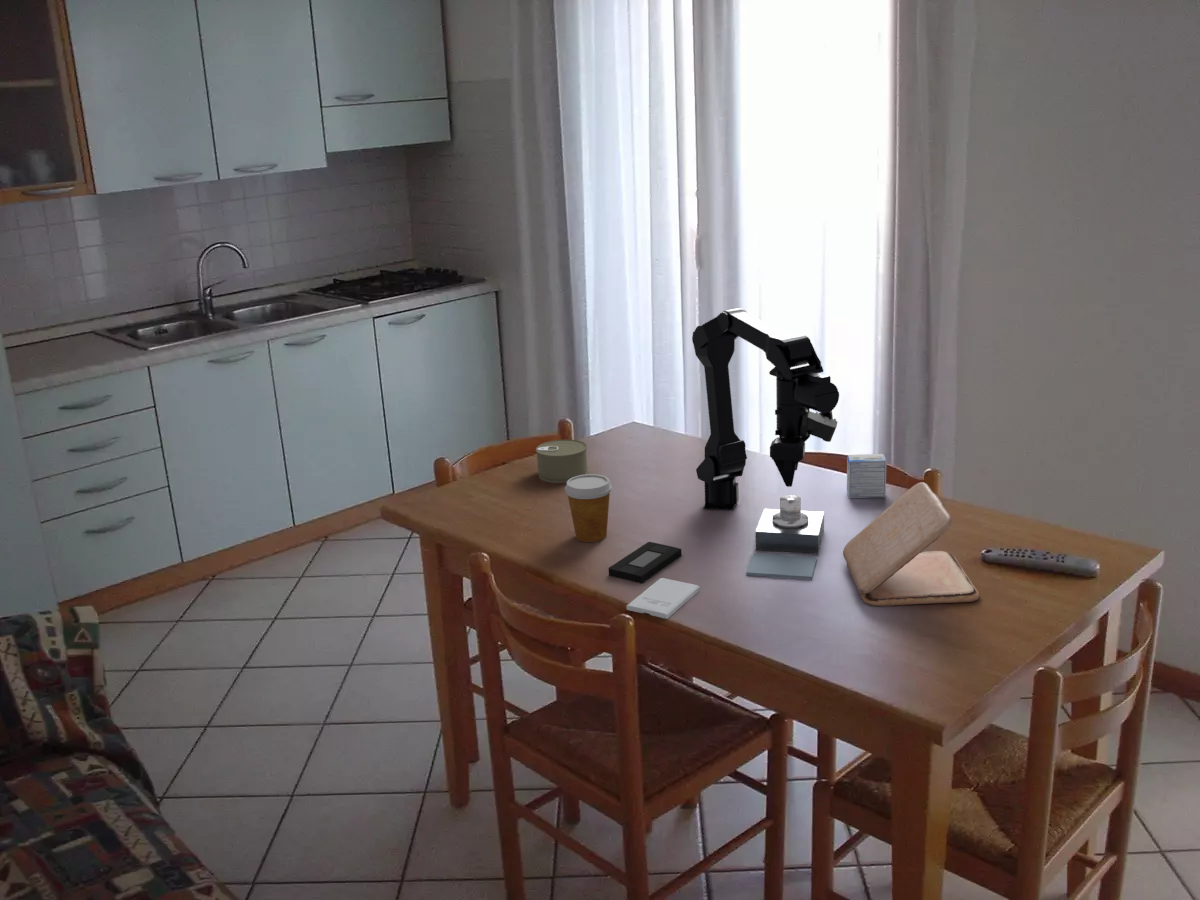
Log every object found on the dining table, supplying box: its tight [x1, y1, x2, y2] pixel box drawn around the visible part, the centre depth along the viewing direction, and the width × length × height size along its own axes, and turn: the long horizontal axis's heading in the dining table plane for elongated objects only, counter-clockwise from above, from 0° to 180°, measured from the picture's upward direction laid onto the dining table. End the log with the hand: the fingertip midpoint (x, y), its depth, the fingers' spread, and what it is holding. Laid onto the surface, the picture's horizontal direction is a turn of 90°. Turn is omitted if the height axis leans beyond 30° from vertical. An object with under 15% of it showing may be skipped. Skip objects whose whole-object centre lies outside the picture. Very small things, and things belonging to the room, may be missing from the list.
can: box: [535, 439, 589, 484], centre depth 269 cm, size 12×12×7 cm
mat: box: [746, 552, 818, 581], centre depth 215 cm, size 12×9×1 cm
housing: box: [755, 508, 825, 555], centre depth 226 cm, size 12×12×4 cm
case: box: [842, 481, 980, 607], centre depth 204 cm, size 20×21×16 cm
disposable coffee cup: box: [564, 473, 613, 543], centre depth 232 cm, size 10×10×12 cm
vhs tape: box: [608, 541, 683, 585], centre depth 219 cm, size 8×14×2 cm, turn 145°
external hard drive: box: [625, 577, 701, 620], centre depth 205 cm, size 2×8×12 cm
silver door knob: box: [772, 494, 808, 528], centre depth 225 cm, size 7×7×8 cm
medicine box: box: [846, 453, 888, 499], centre depth 246 cm, size 8×4×9 cm, turn 84°
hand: (791, 478), depth 223 cm, fingers open, 9 cm apart
